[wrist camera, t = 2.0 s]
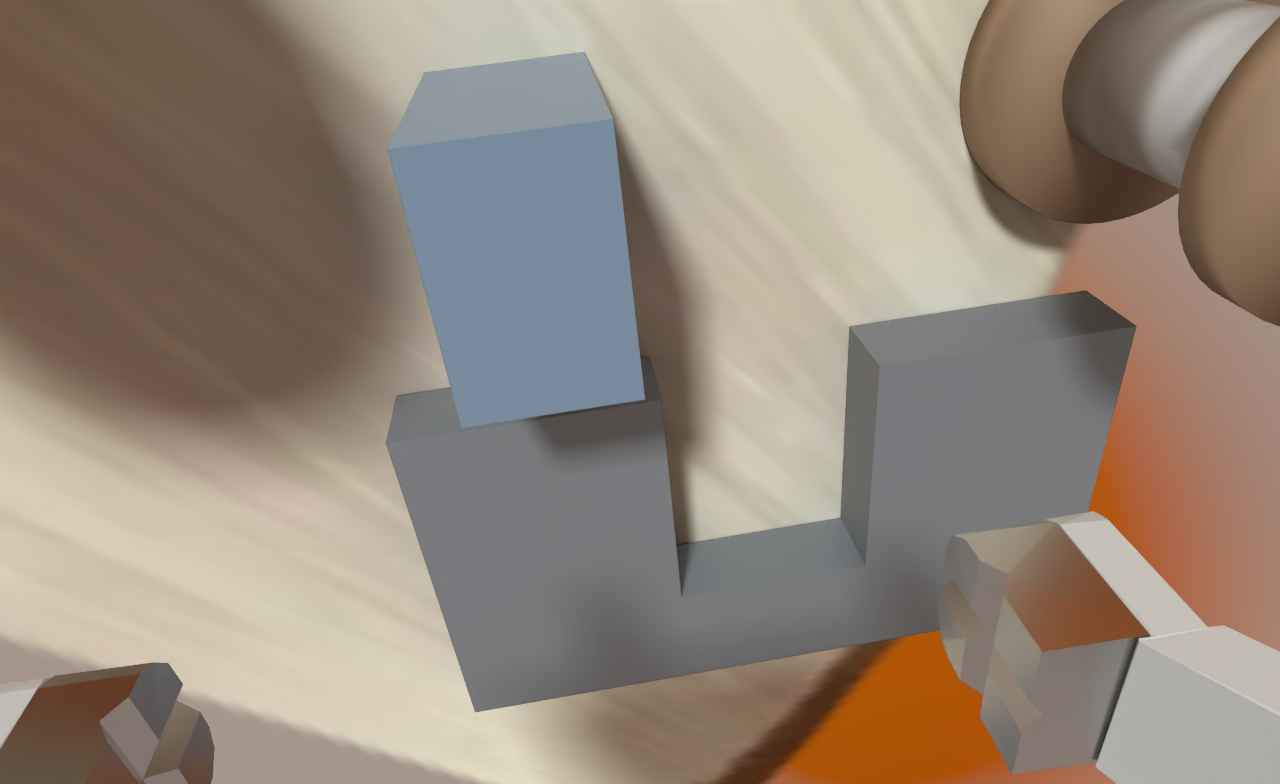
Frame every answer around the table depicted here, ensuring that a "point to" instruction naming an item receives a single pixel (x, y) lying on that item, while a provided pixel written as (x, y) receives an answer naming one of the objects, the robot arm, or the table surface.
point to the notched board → (761, 561)
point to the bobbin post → (1139, 122)
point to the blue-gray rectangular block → (521, 237)
